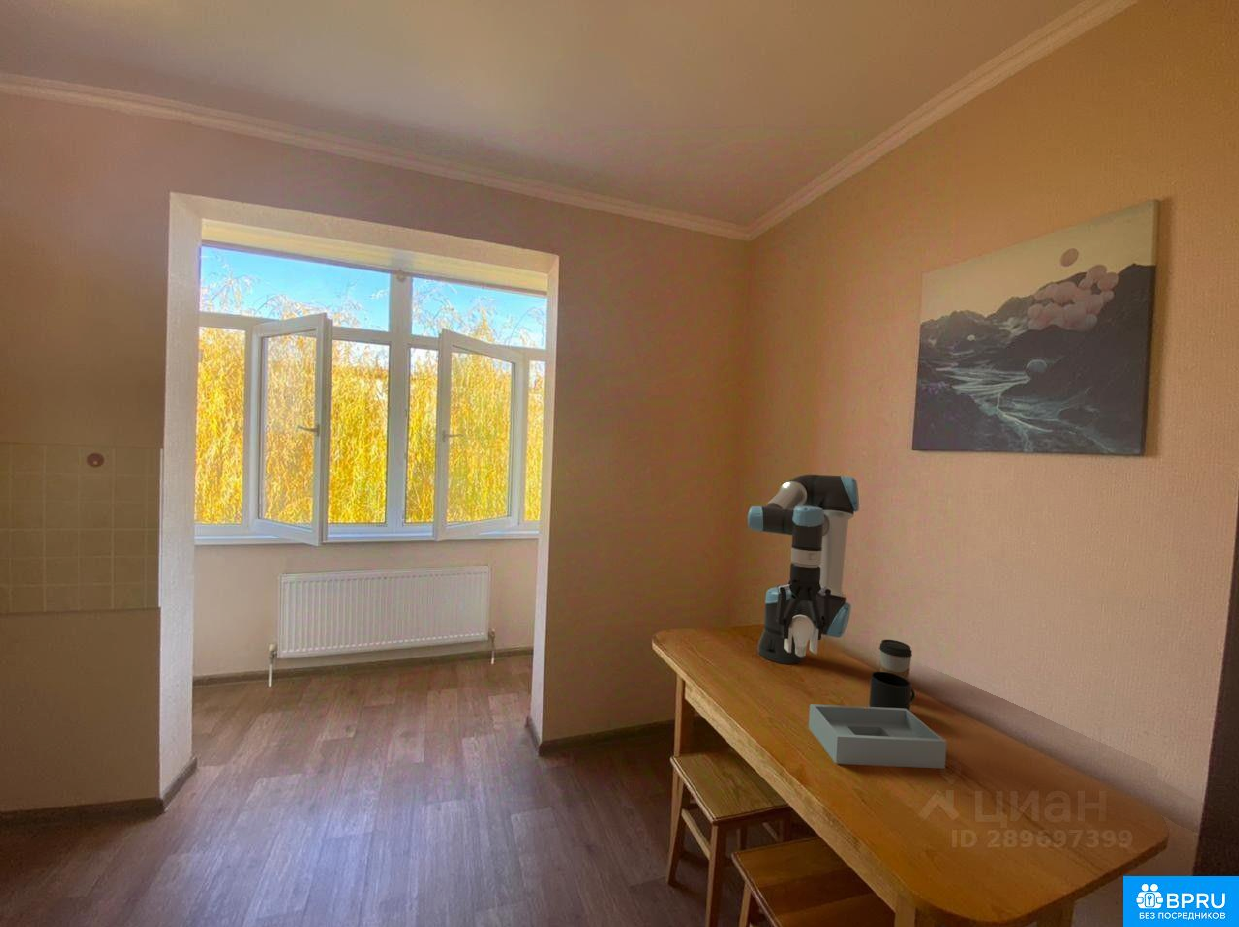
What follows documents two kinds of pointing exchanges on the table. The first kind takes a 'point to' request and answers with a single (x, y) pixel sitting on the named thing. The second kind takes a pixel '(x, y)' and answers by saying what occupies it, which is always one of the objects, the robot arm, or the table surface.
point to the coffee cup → (895, 658)
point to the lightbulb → (801, 633)
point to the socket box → (876, 736)
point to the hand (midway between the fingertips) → (800, 651)
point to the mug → (890, 691)
